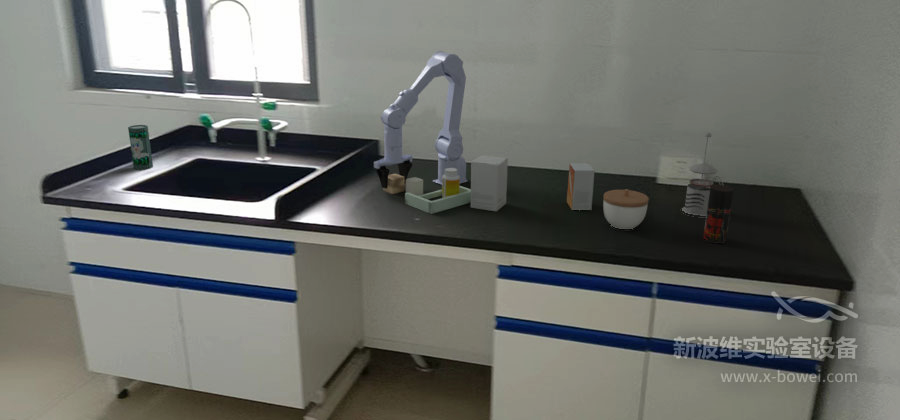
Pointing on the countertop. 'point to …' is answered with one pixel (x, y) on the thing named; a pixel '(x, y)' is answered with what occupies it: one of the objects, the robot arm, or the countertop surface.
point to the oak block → (395, 184)
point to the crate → (439, 204)
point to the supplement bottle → (450, 182)
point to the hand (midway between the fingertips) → (393, 185)
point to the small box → (580, 186)
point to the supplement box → (488, 182)
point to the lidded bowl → (625, 208)
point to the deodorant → (718, 213)
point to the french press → (697, 185)
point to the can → (140, 147)
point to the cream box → (414, 186)
